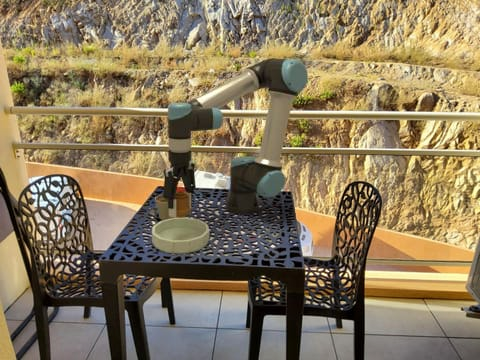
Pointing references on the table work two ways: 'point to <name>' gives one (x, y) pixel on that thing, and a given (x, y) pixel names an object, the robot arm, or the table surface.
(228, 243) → the table surface
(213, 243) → the table surface
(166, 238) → the bowl
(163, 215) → the flower pot
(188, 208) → the ornamental finial
